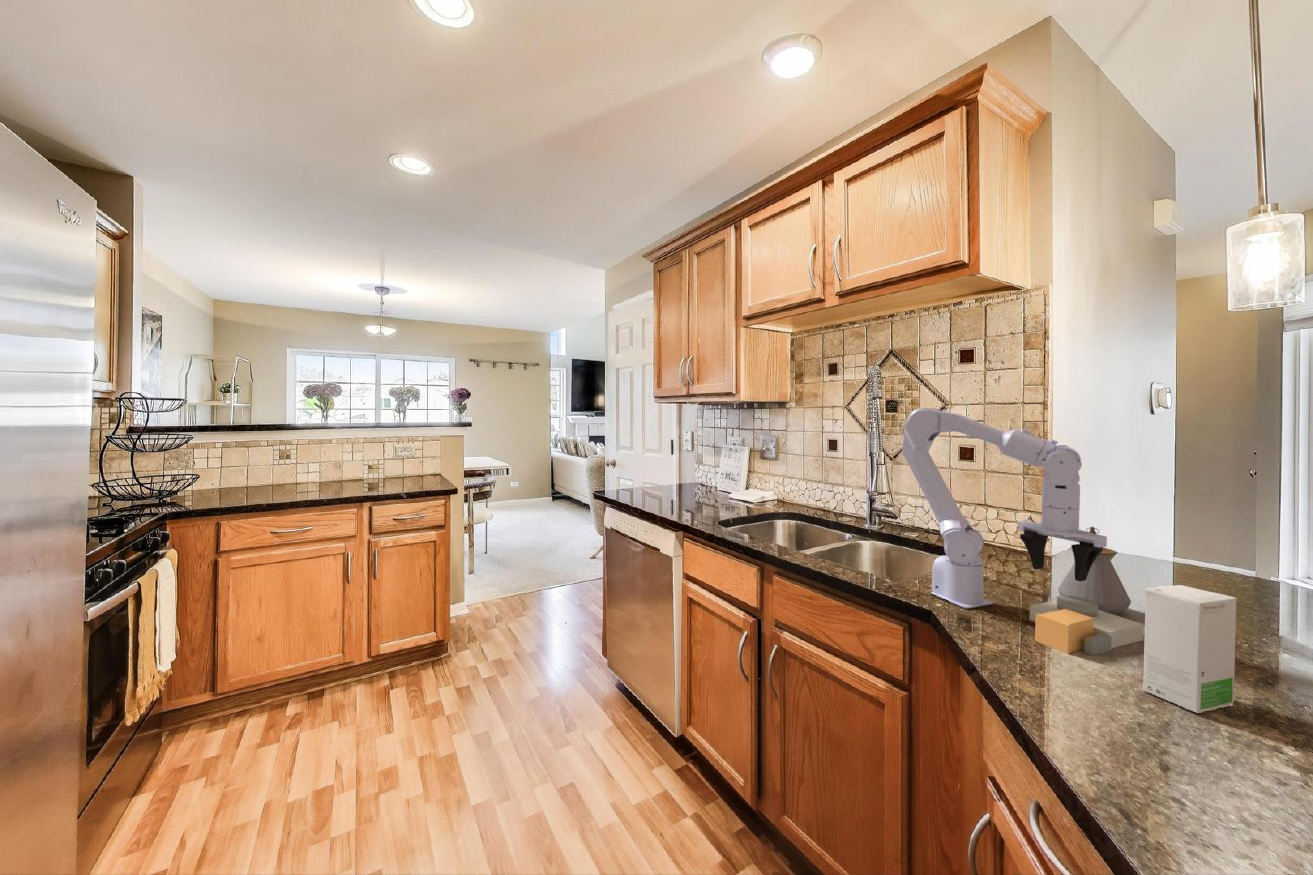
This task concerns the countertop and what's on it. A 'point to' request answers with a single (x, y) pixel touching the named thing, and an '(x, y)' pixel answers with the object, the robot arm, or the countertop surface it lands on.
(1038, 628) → the orange lidded tapered block
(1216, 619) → the skincare box
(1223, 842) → the countertop surface
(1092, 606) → the grey stand
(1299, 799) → the countertop surface
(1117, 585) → the grey faceted tapered shape
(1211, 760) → the countertop surface
